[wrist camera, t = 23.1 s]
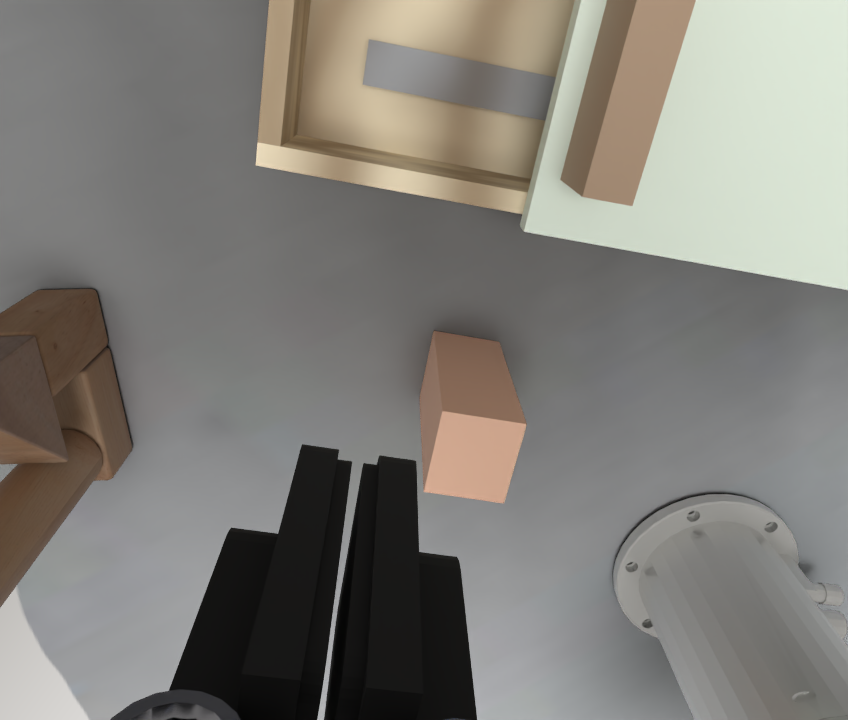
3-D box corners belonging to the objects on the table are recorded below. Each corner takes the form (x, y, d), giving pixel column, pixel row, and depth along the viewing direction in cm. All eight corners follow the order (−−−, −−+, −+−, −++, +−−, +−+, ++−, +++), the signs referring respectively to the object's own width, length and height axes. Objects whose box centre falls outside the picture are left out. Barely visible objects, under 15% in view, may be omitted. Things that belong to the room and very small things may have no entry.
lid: (1109, -46, 27) (1256, -67, 23) (931, 300, 33) (1018, 340, 29) (615, -166, 25) (663, -217, 21) (519, 225, 31) (540, 255, 27)
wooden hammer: (98, 286, 38) (-130, 457, 22) (135, 448, 43) (-32, 692, 26) (33, 288, 38) (-244, 460, 22) (77, 450, 43) (-127, 695, 26)
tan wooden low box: (731, -76, 32) (798, -103, 27) (639, 215, 38) (680, 243, 32) (309, -174, 30) (287, -226, 25) (278, 148, 36) (255, 165, 30)
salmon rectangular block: (499, 341, 40) (527, 424, 31) (482, 407, 42) (503, 503, 33) (433, 330, 40) (442, 411, 31) (419, 397, 42) (423, 491, 33)
